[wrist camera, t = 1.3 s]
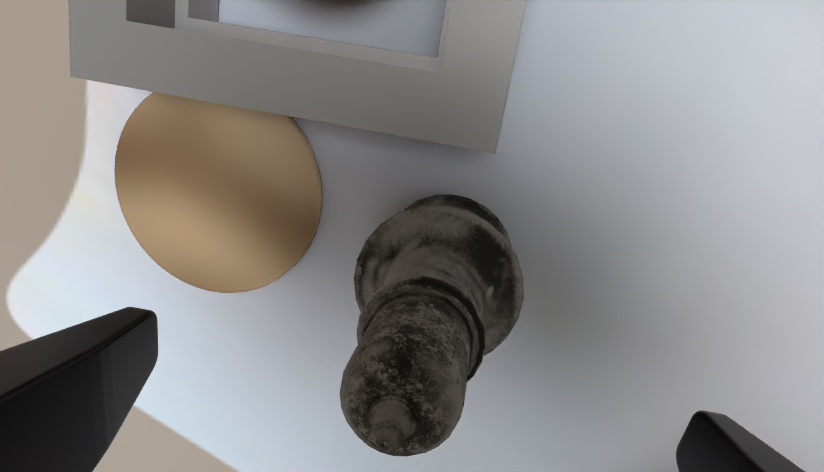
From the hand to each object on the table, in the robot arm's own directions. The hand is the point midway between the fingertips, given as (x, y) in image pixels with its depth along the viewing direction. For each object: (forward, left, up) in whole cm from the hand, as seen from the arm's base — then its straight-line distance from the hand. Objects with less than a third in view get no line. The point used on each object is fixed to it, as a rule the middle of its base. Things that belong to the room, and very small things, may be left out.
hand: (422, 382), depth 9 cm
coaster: (-1, +11, -13) cm, 16 cm away
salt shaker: (-2, +1, -13) cm, 13 cm away
